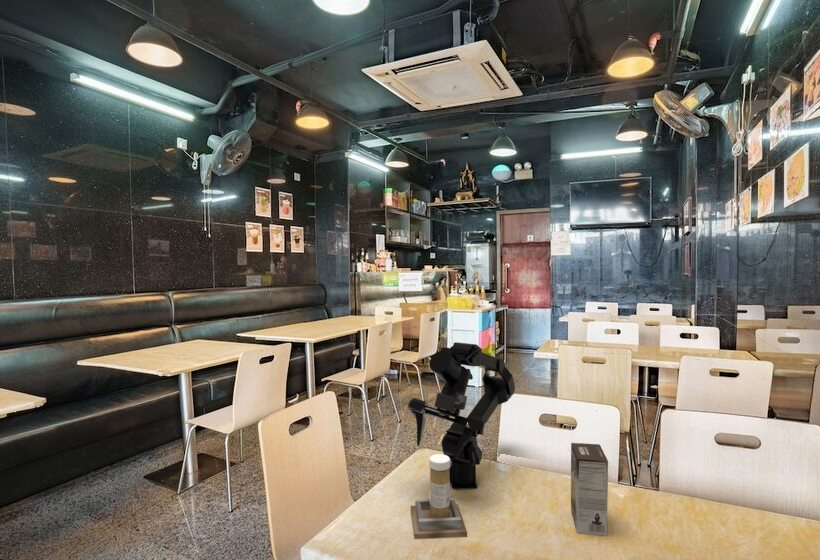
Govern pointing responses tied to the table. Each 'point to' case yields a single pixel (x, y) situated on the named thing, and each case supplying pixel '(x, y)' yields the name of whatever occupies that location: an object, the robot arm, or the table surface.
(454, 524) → the socket board
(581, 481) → the coffee box
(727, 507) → the table surface
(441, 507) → the sprinkles bottle
